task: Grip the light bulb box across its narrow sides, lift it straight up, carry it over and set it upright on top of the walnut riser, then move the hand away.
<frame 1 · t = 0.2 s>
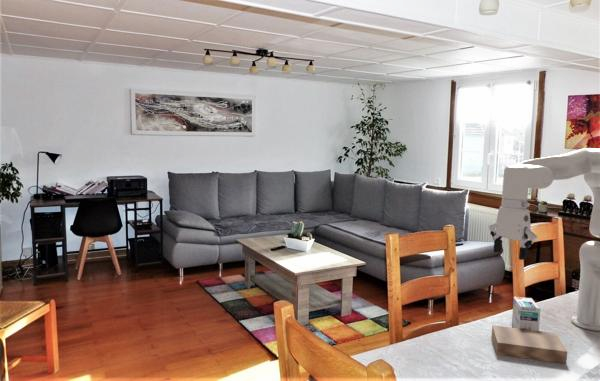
hand: (509, 255, 153), 31 cm above the table, tool pointing down, fingers open, 9 cm apart
walnut riser: (526, 349, 153), on the table
light bulb box: (524, 331, 168), on the table
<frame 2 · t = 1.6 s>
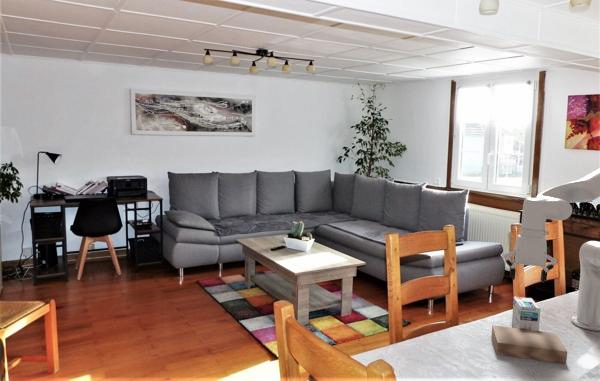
hand: (527, 280, 166), 19 cm above the table, tool pointing down, fingers open, 9 cm apart
nothing on the table moved.
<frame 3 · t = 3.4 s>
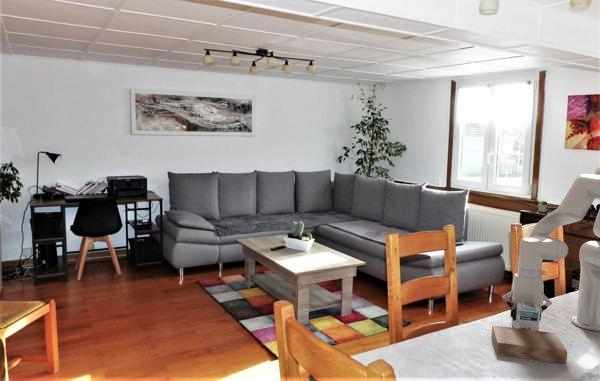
hand: (525, 320, 167), 4 cm above the table, tool pointing down, fingers closed on light bulb box, 7 cm apart
light bulb box: (524, 331, 168), on the table, touching gripper
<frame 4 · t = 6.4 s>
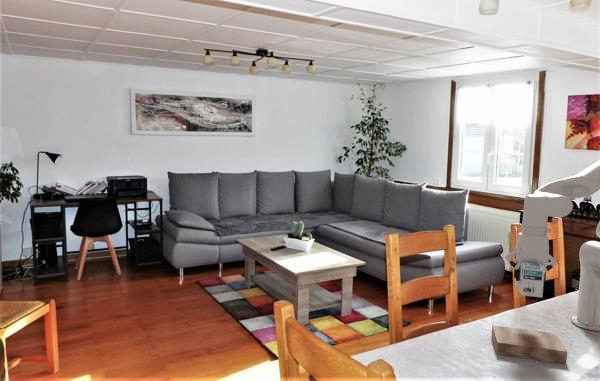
hand: (529, 281, 160), 20 cm above the table, tool pointing down, fingers closed on light bulb box, 7 cm apart
light bulb box: (527, 292, 161), point 16 cm above the table, touching gripper
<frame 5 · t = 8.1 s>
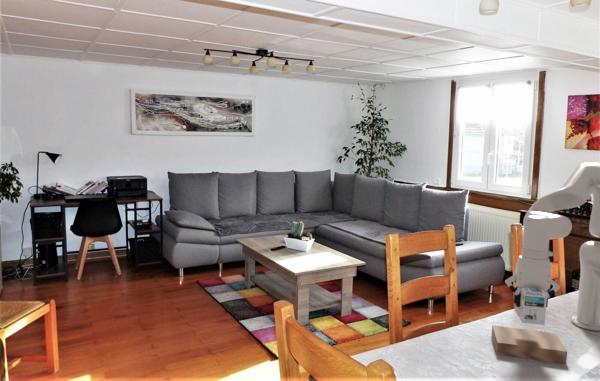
hand: (530, 306, 151), 15 cm above the table, tool pointing down, fingers closed on light bulb box, 7 cm apart
light bulb box: (528, 318, 152), point 10 cm above the table, touching gripper
when the fingers open (9 cm above the table, at t = 9.6 s): light bulb box drops 1 cm, resting on walnut riser.
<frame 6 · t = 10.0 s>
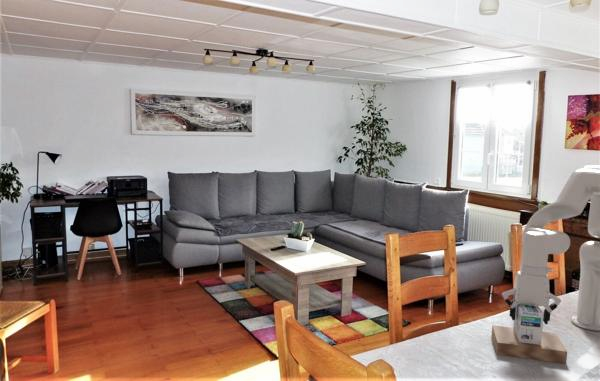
hand: (529, 320, 152), 10 cm above the table, tool pointing down, fingers open, 9 cm apart
light bulb box: (526, 337, 153), point 4 cm above the table, touching walnut riser
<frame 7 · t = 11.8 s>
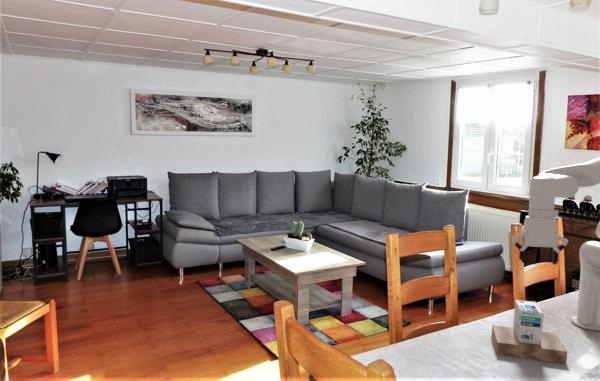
hand: (538, 262, 159), 27 cm above the table, tool pointing down, fingers open, 9 cm apart
nothing on the table moved.
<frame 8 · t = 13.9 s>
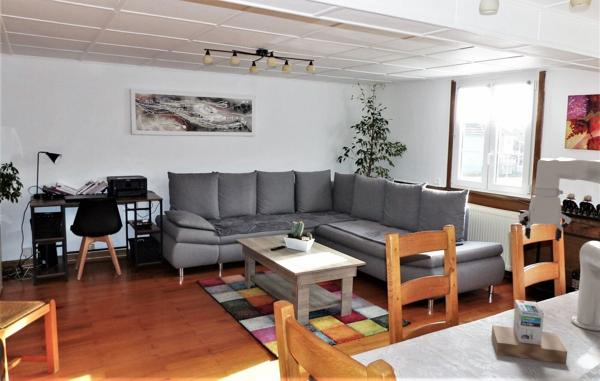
hand: (542, 239, 170), 32 cm above the table, tool pointing down, fingers open, 9 cm apart
nothing on the table moved.
at the end: light bulb box inside the target area on the walnut riser (0.3 cm from its centre), point 3.8 cm above the walnut riser's base; light bulb box tilted 0°; the gripper is holding nothing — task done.
